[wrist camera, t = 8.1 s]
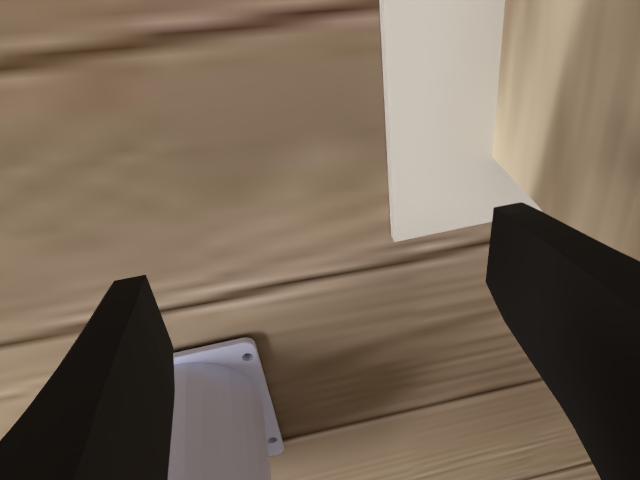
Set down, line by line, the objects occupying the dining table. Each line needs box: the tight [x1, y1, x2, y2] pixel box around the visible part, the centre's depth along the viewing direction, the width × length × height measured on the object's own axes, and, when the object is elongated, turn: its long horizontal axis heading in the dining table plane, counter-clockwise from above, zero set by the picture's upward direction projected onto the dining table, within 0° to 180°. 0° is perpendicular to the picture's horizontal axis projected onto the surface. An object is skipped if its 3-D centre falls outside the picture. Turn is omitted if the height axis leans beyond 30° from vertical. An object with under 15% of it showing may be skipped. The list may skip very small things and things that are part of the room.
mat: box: [379, 0, 542, 242], centre depth 20 cm, size 16×12×1 cm
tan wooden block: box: [493, 0, 640, 261], centre depth 17 cm, size 4×9×8 cm, turn 7°
